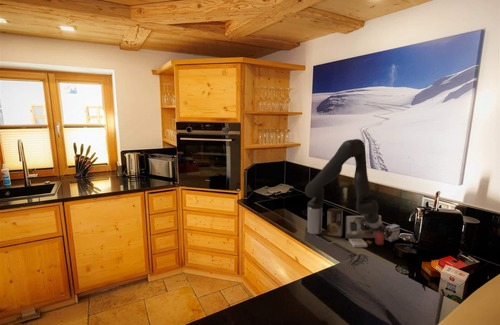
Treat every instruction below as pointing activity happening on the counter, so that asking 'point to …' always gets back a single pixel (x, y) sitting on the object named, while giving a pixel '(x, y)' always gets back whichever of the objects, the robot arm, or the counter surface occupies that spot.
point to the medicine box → (393, 232)
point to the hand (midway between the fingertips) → (380, 234)
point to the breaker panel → (357, 228)
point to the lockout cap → (379, 238)
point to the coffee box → (334, 222)
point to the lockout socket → (358, 242)
